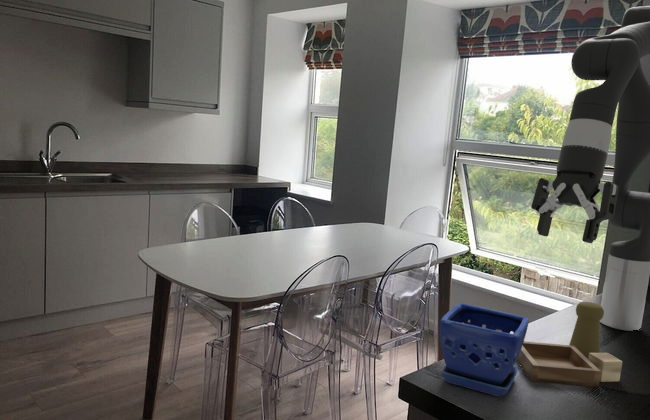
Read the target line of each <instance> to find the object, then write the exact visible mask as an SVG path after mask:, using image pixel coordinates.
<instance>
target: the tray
mask: <svg viewBox="0 0 650 420" xmlns="http://www.w3.org/2000/svg"><path fill="white" fill-rule="evenodd" d="M517 361H518V362H519V363H518V362H517ZM517 361H516V362H517V363H518V365H519V364H520V365H521V366H520V365H519V366H520V368H521V367H522V368H523V369H522V368H521V369H522V371H525V372H524V373H525V374H526V375H528V376H527V377H528V379H529V378H530V379H529V380H530V382H537V381H538V382H539V383H549V384H560V385H561V384H562V385H570V386H571V385H572V386H582V387H583V386H585V387H593V388H594V387H595V388H599V386H600V381H599V380H600V374H601V371H600V370H599V369H598V368H597V367H596V366H595V365H594V364H593V363H591V362H590V361H589V360H588V359H587V358H586V357H585V356H584V355H583V354H582V353H581V352H580V351H579V350H578V349H577V348H576V347H575V346H571V345H569V344H557V343H548V342H547V343H546V342H534V341H526V340H524V342H523V345H522V348H521V351H520V353H519V356H518V358H517Z"/></svg>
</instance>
